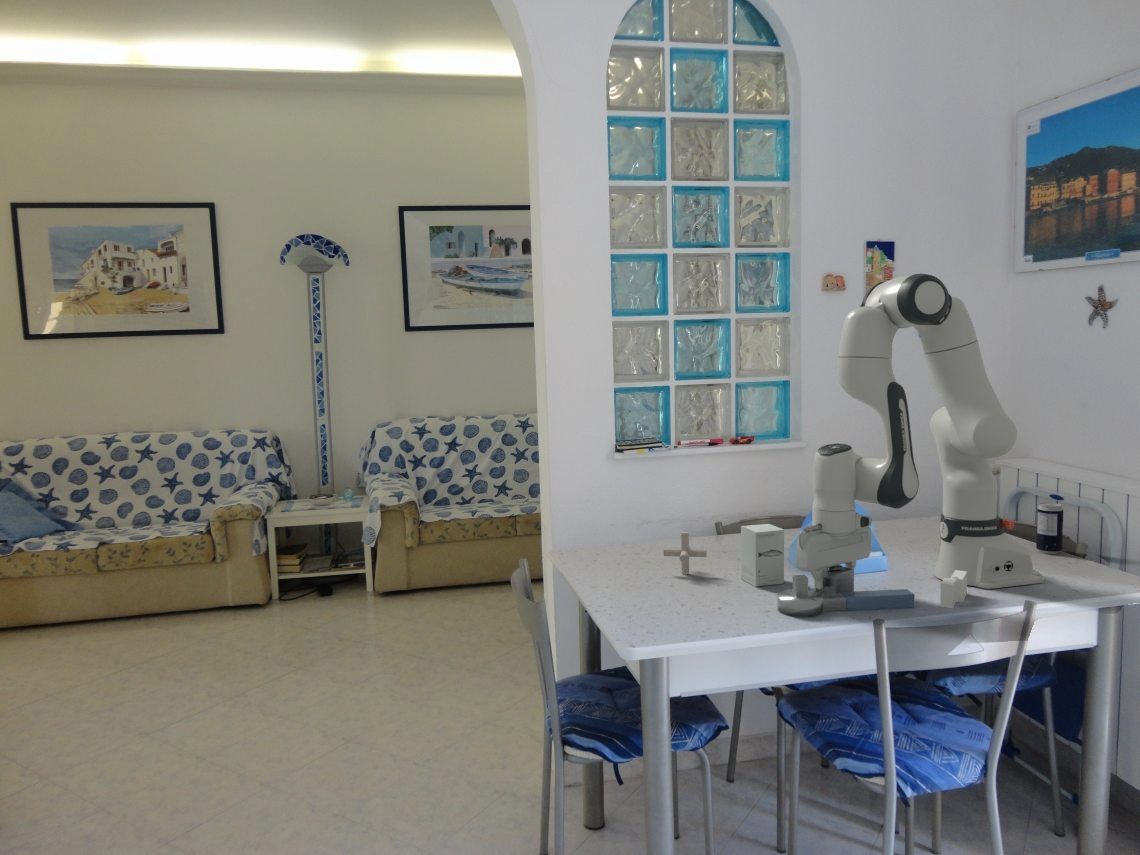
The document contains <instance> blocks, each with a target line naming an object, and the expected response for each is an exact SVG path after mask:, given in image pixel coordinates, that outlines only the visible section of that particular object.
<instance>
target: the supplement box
mask: <svg viewBox="0 0 1140 855" xmlns="http://www.w3.org/2000/svg"><path fill="white" fill-rule="evenodd" d="M740 579H741V580H743V581H744V582H745V583H748V584H749V585H751V586H753V587H755V588H758V587H762V586H771V585H772V586H773V585H783V584H785V529H784V528H781V527H779V526H776V525H774V524H770V523H764V524H751V525H749V524H748V525H741V526H740Z"/></svg>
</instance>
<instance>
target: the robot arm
mask: <svg viewBox="0 0 1140 855" xmlns="http://www.w3.org/2000/svg"><path fill="white" fill-rule="evenodd" d="M910 327H913V328H914V329H915V330H916V331H917V333H918V334H919V337H920V339H921V340H920V341H921V345H922V350H923V353H924V358H925V361H926V365H927V370H928V375H929V378H930V382H931V385H932V388H933V389H934V390H935V392H936V393H937V394H938V395H939V398H940V399H941V401H942V403H943V405H944V406H941V407H940V408H938V409H937V410H936V411H935V412H934V413H933V414H932V415H931V418H930V422H929V430H930V433H931V436H932V438H933V439H934V441H935V445H936V450H937V455H938V459H939V466H940V471H941V477H942V513H941V514H940V519H939V521H940V522H939V531H940V532H939V535H940V540H941V541H940V546H939V547H940V548H939V553H938V559H937V563H936V566H935V569H934V572H933V575H934V577H936V578H937V579H939V580H943V579H944V578H951V576H952V575H953V573H954V571H955V570H959V571H967V586H973V587H977V588H981V589H988V590H989V589H991V590H992V589H1000V588H1009V587H1015V586H1016V587H1017V586H1018V587H1019V586H1026V585H1035V584H1041V583H1044V582H1045V578H1044V575H1043V574H1042V573H1041V572H1039V571H1037V570H1036V569H1033V568H1034V567H1033V560H1032V557H1031V554H1030V552H1029V551H1028V550H1027V549H1026V548H1025V547H1023V546H1022V545H1021V544H1019V543H1018V542H1017V541H1016V540H1014V539H1013V538H1012V537H1010V536H1009V535H1007V533H1005V530H1004V528H1005V529H1007V530H1013V528H1014V527H1015V522H1014V521H1013V520H1011V519H1009V518H1004V519H1003V518H1001V517H999V516H997V515H998V514H997V513H998V512H997V511H998V482H997V478H996V476H995V475H994V473H993V470H992V467H991V464H990V460H989V459H994V458H999V457H1000V458H1001V457H1003V456H1005V455H1006V454H1008V453H1009V452H1010V451H1011V450H1012V449H1013V448H1014V446H1015V444H1016V441H1017V437H1018V432H1017V427H1016V425H1015V423H1014V421H1013V420H1012V419H1011V418H1010V417H1009V416H1008V414H1007V413H1006V412H1005V410H1004V408H1003V407H1002V405H1001V403H1000V400H999V398H998V397H997V394H996V393H995V390H994V389H993V386H992V383H991V382H990V380H989V377H988V375H987V372H986V369H985V364H984V361H983V357H982V353H981V350H980V345H979V341H978V338H977V334H976V331H975V330H976V329H975V327H974V324H973V321H972V318H971V317H970V314H969V311H968V310H967V308H966V306H965V304H964V302H963V301H962V300H961V299H960V298H959V297H957V296H953V295H951V294H950V293H949V291H948V288H947V286H946V285H945V283H943V281H942V280H941V279H940V278H938V277H936V275H935V276H934V275H931V274H928V273H915V274H909V275H908V274H906V275H901V276H896V277H893V278H892V279H889V280H884V281H881V282H878V283H876V284H874V285H873V286H871V287H870V288H869V289H868V291H867V292H866V293H865V295H864V297H863V299H862V301H861V303H860V306H859V307H856V308H854V309H852V310H851V311H849V312H848V313H847V314H846V316H845V317H844V321H843V324H842V329H841V333H840V337H839V345H838V352H837V353H838V358H837V370H836V371H837V380H838V383H839V385H840V387H841V388H842V389H843V390H844V392H845V393H847V394H848V395H849V396H850V397H852V398H853V399H855V400H857V401H858V402H861V403H863V404H865V405H867V406H869V407H870V408H872V409H874V410H875V411H876V412H877V413H878V415H879V417H880V418H881V420H882V423H883V432H884V442H885V443H884V444H885V451H886V458H876V457H868V456H862V455H860V454H858V453H855V452H854V448H853V447H852V446H851V445H850V444H847V443H841V442H840V443H829V444H825V445H821V447H819V448H818V449H816V452H815V455H814V458H813V459H814V460H813V466H812V467H813V468H812V483H811V484H812V490H813V496H814V497H813V501H812V506H811V507H812V510H811V511H812V515H811V517H812V519H811V521H812V525H810V526H808V525H807V526H805V527H803V529H802V530H800V533H799V534H798V538H797V540H796V541H797V543H796V547H795V556H794V557H795V560H794V565H795V567H796V568H797V570H800V571H803V572H807V573H810V575H811V577H812V578H813V580H814V588H817V589H823V588H825V587H826V585H825V584H826V580H823V579H822V576H821V574H822V573H823V569H824V568H828V567H832V566H836V565H845V566H844V567H847V568H851V569H854V570H855V569H856V566H857V561H859V560H864V559H868V558H869V557H870V555H871V552H872V545H873V544H872V541H873V540H872V530H871V526H872V524H873V523H872V522H873V518H872V517H871V516H870V515H865V514H861V513H858V512H857V506H856V502H855V501H859V502H863V503H868V504H869V503H870V504H877V505H880V506H884V507H888V508H892V509H897V510H898V509H902V508H904V507H905V506H907V505H908V504H910V503H911V502H912V501H913V500H914V499H915V498H916V497H917V495H918V491H919V484H920V482H919V475H918V471H917V467H916V464H915V459H914V452H913V440H912V432H911V423H910V422H911V421H910V414H909V405H908V399H907V394H906V391H905V388H904V387H903V386H902V385H901V384H900V383H898V382H897V380H896V378H895V374H894V370H893V341H894V339H895V336H896V334H897V332H898V330H899V329H907V328H910Z"/></svg>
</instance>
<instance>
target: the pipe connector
mask: <svg viewBox="0 0 1140 855" xmlns="http://www.w3.org/2000/svg"><path fill="white" fill-rule="evenodd" d="M689 533H690V532H689V531H681V532H680V548H663V556H664V557H679V561H680V563H681V566H680V567H681V575H682V574H683V575H684V576H688V575H690V558H691V557H692V558H707V556H708V555H707V549H701V548H699V549H698V548H696V549H695V548H694V549H693V548H692V549H691V546H690V544H689V542H690V537H689V536H690V535H689ZM687 574H688V575H687ZM683 575H682V576H683Z"/></svg>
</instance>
